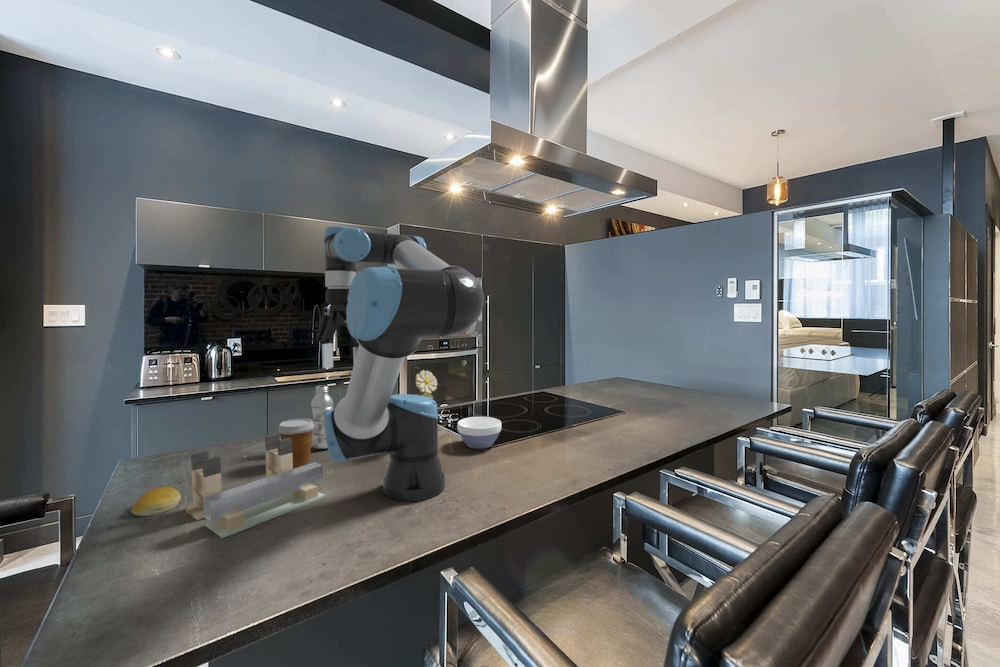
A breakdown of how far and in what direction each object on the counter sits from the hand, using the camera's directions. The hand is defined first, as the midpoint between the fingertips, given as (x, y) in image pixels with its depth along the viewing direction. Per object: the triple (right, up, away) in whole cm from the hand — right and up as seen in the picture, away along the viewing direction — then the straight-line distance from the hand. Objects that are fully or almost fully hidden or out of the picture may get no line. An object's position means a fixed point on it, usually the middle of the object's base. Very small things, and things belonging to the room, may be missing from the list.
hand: (343, 370), depth 111 cm
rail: (-10, -27, -17) cm, 33 cm away
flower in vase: (+15, -27, +26) cm, 40 cm away
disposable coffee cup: (-17, -28, +12) cm, 35 cm away
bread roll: (-36, -30, -15) cm, 50 cm away
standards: (-19, -29, -10) cm, 37 cm away
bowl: (+34, -27, +29) cm, 52 cm away
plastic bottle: (-15, -27, +25) cm, 40 cm away
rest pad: (-10, -30, -17) cm, 36 cm away
